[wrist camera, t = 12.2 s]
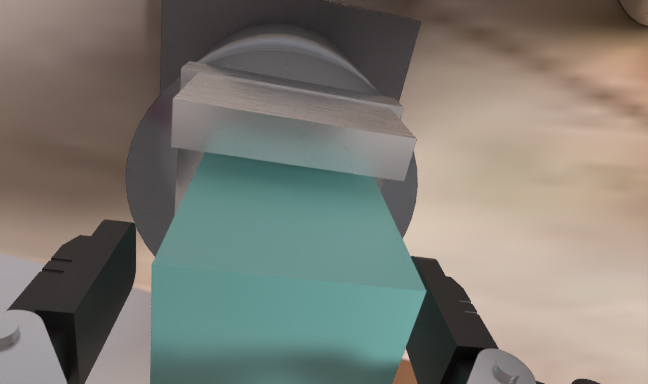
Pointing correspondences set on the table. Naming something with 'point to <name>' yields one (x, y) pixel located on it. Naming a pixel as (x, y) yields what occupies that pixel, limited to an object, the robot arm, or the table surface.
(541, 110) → the table surface
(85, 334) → the robot arm
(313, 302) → the turquoise cube
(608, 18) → the table surface
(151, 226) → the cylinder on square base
